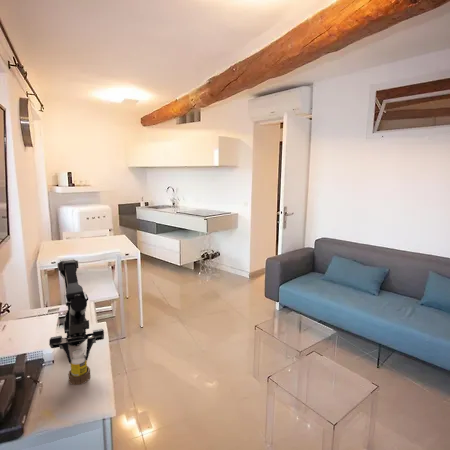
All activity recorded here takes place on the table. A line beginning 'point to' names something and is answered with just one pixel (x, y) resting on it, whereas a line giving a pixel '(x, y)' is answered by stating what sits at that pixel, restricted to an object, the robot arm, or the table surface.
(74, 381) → the holder
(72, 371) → the supplement bottle
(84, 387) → the table surface
